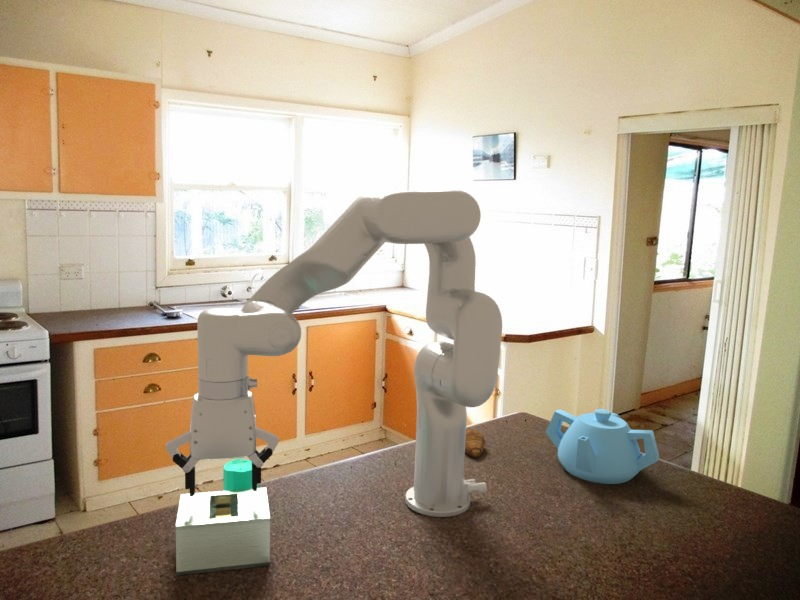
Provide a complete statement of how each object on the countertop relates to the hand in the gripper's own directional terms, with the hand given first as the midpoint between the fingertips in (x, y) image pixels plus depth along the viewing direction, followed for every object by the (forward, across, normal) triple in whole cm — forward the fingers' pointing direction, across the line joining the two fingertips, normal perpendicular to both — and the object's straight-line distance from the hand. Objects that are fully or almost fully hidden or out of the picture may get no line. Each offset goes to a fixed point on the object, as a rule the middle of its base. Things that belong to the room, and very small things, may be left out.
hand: (223, 490), depth 103 cm
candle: (+11, -3, -10) cm, 15 cm away
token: (+8, 0, -4) cm, 9 cm away
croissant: (+11, -57, -35) cm, 68 cm away
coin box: (+11, 0, 0) cm, 11 cm away
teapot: (+11, -80, -18) cm, 83 cm away
